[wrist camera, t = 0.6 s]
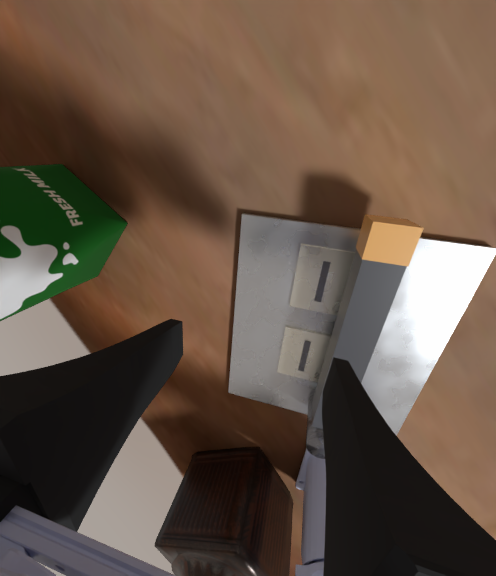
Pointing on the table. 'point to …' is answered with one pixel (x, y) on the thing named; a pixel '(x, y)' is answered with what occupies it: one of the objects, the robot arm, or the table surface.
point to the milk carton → (50, 234)
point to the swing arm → (368, 295)
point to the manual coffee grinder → (229, 517)
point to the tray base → (324, 308)
